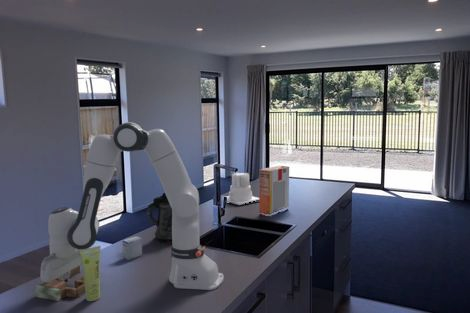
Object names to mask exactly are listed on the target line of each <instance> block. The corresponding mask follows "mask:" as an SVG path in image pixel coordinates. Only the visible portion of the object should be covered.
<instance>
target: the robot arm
mask: <svg viewBox="0 0 470 313" xmlns="http://www.w3.org/2000/svg"><path fill="white" fill-rule="evenodd" d="M135 151H144V152H145V154H146V155H147V157H148V159H149V161H150V163H151V166H152V167H153V170H154V171H155V173H156V174H157V178H158V179H159V181H160V183H161V186H162V188H163V191H164V192H163V193H165V194H166V196H167V199H168V201H169V203H170V206H171V208H172V243H171V244H172V245H171V246H170V248H171V249H170V253H171V254H170V255H171V268H170V273H169V277H168V281H169V282H170V283H171V284H172V285H173V287H174V288H175V289H184V290H185V289H186V290H204V291H205V290H206V291H212V290H215V289H217V288H219V287H220V285H222V283H223V282H224V280H225V276H224V274H223V273H222V272H219V267H218V264H217V263H216V262H215V261H214V260H212V259H211V258H210V257H209V256H207V255H206V254H205V250H206V245H204V246H202V245H201V244H200V195H199V190H198V188H197V187H196V186H195V184H193V183H192V180H191V178H190V177H189V176H190V175H189V173H188V171H187V169H186V167H185V164H184V162H183V160H182V158H181V156H180V154H179V153H178V150H177V148H176V147H175V145H174V143H173V141H172V139H171V138H170V136H169V135H168V134H167V133H166V130H164V129H161V128H154V129H153V128H152V129H150V130H145V129H144V128H143V126H141V125H140V124H138V123H135V122H132V121H127V122H123V123H121V124H120V125H118V126H117V127H116V128H115V129H114V131H113V134H106V133H105V134H104V133H102V134H98V135H96V136H95V137H94V138H93V140H92V142H91V144H90V146H89V149H88V152H87V156H86V159H85V163H84V170H83V171H84V172H83V191H82V198H81V202H80V205H79V210H78V211H77V210H74V209H72V208H71V207H69V206H63V207H59V208H56V209H53V211H51V212H50V214H49V216H48V221H47V224H48V225H47V227H48V228H47V229H48V235H49V242H48V243H49V244H48V245H49V255H48V256H46V257H44V258H43V260H42V261H41V265H40V281H41V282H43V283H45V282H46V283H50V282H51V281H53V280H55V279H57V278H58V279H59V281H63V282H65V283H66V284H67V283H70V279H69V276H70V273H71V270H72V269H74V268H76V267H77V266H79V265H80V266H82V261H81V256H80V250H85V249H89V248H92V247H93V246H94V244H95V243H96V241H97V237H98V233H99V232H98V231H99V230H100V229H99V228H100V221H99V219H98V217H97V215H98V211H99V207H100V202H101V199H102V197H103V195H104V193H105V192H106V189H107V188H108V186H109V185H110V182H111V180H112V178H113V175H114V173H115V170H116V166H117V162H118V158H119V155H120V153H121V152H129V153H130V152H135ZM64 274H65V275H64ZM63 277H64V278H63Z"/></svg>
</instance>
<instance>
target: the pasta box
mask: <svg viewBox="0 0 470 313" xmlns="http://www.w3.org/2000/svg"><path fill="white" fill-rule="evenodd" d="M259 198H260V199H259V201H258V202H259V208H258V209H259V212H258V213H264V214H269V215H270V214H272V213H274V212H277V211H279V210H282V209H284V208H287V207H289V206H290V203H289V202H290V166H286V165H285V166H284V165H276V166H271V167H266V168H262V169H259Z"/></svg>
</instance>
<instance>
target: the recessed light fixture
mask: <svg viewBox="0 0 470 313" xmlns="http://www.w3.org/2000/svg"><path fill="white" fill-rule="evenodd" d="M251 187H252V186H251V185H250V174H249V173H248V172H234V173H232V174H231V185H230V190H229V192H228V195H227V196H225V197H227V201H226V204H227V203H229V204H230V203H231V204H233V205H238V206H241V205H245V203H246V204H250V203H249V202H251V203H254V202H253V201H255V202H257V201H256V200H259V199H260V197H257V196H254V195H253V191H252V188H251Z"/></svg>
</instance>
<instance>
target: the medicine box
mask: <svg viewBox="0 0 470 313" xmlns="http://www.w3.org/2000/svg"><path fill="white" fill-rule="evenodd" d="M141 256H143V239H142V237H140V236H133V237H129V238H126V239H124V240H122V257H123V259H125V260H127V261H130V260H132V259H135V258H138V257H141Z"/></svg>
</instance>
